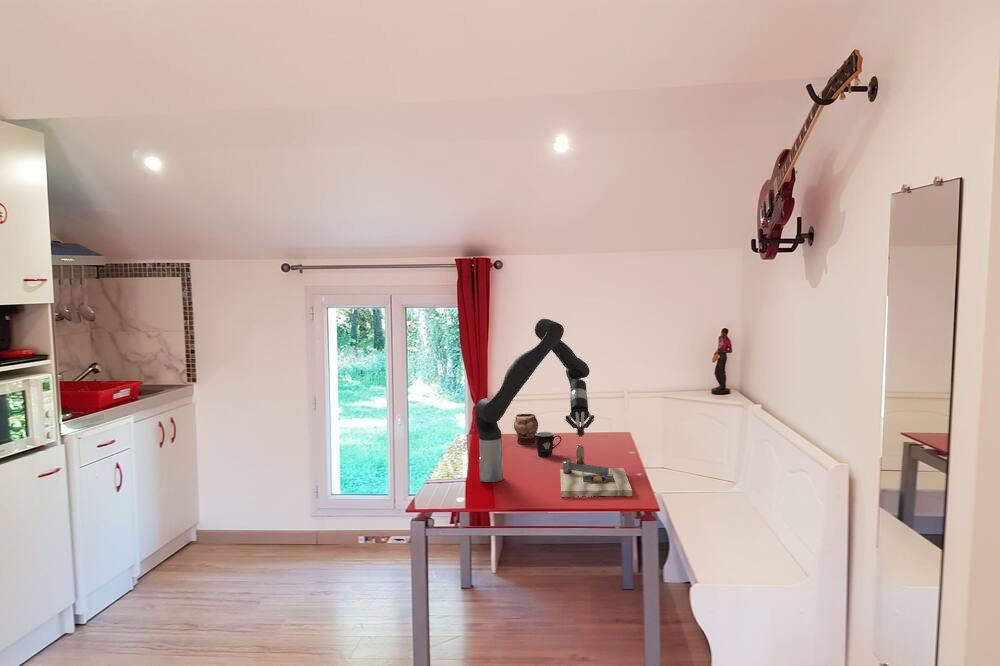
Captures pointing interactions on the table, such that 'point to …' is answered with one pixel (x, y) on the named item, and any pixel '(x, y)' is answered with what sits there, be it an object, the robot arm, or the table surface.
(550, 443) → the coffee mug
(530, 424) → the decorative planter
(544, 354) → the robot arm
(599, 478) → the ball
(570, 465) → the catapult lever
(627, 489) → the board
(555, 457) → the table surface
